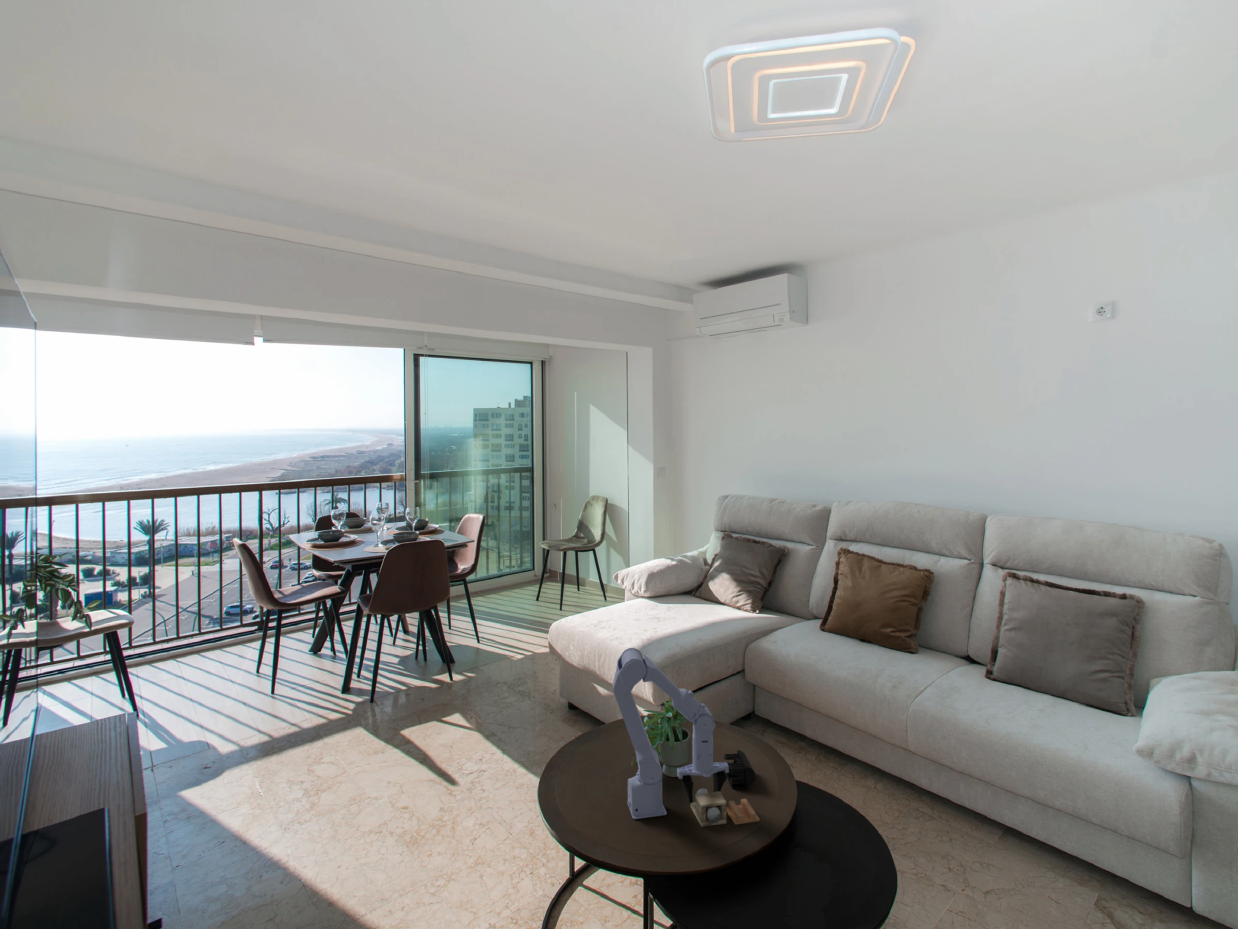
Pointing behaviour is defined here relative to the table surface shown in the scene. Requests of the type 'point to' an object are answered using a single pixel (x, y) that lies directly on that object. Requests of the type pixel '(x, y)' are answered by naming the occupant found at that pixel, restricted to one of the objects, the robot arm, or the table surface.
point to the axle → (711, 809)
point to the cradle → (741, 812)
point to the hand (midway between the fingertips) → (703, 799)
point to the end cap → (739, 771)
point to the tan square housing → (706, 801)
